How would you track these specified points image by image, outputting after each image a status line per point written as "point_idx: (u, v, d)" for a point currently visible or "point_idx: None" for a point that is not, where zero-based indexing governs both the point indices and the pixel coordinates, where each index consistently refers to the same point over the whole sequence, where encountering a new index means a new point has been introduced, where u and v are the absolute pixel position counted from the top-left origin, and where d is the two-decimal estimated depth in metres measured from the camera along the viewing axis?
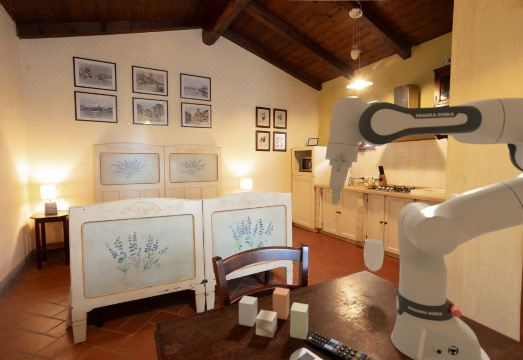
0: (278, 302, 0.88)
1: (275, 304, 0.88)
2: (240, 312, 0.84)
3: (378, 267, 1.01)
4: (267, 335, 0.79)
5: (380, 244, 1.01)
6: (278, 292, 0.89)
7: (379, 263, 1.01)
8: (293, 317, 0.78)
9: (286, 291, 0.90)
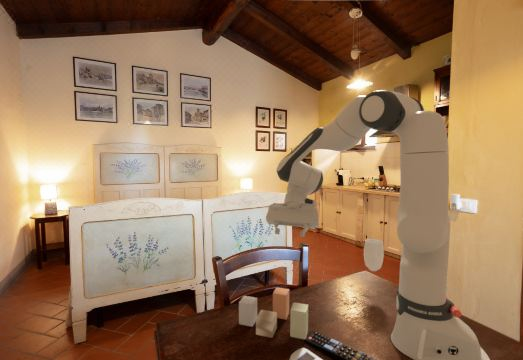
0: (278, 302, 0.88)
1: (275, 304, 0.88)
2: (240, 312, 0.84)
3: (378, 267, 1.01)
4: (267, 335, 0.79)
5: (380, 244, 1.01)
6: (278, 292, 0.89)
7: (379, 263, 1.01)
8: (293, 317, 0.78)
9: (286, 291, 0.90)
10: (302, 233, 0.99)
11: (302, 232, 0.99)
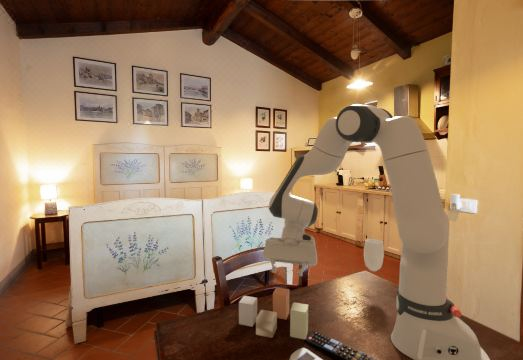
0: (278, 302, 0.88)
1: (275, 304, 0.88)
2: (240, 312, 0.84)
3: (378, 267, 1.01)
4: (267, 335, 0.79)
5: (380, 244, 1.01)
6: (278, 292, 0.89)
7: (379, 263, 1.01)
8: (293, 317, 0.78)
9: (286, 291, 0.89)
10: (300, 273, 0.95)
11: (300, 272, 0.95)
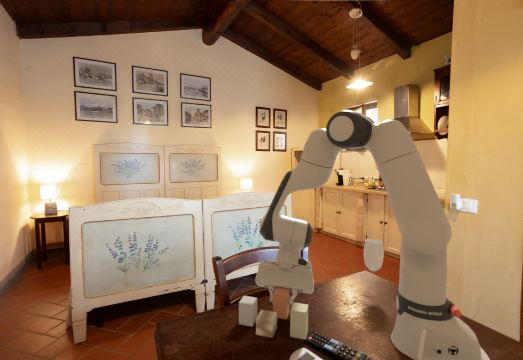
0: (278, 302, 0.88)
1: (275, 304, 0.88)
2: (240, 312, 0.84)
3: (378, 267, 1.01)
4: (267, 335, 0.79)
5: (380, 244, 1.01)
6: (278, 292, 0.89)
7: (379, 263, 1.01)
8: (293, 317, 0.78)
9: (286, 291, 0.89)
10: (289, 301, 0.88)
11: (290, 300, 0.88)
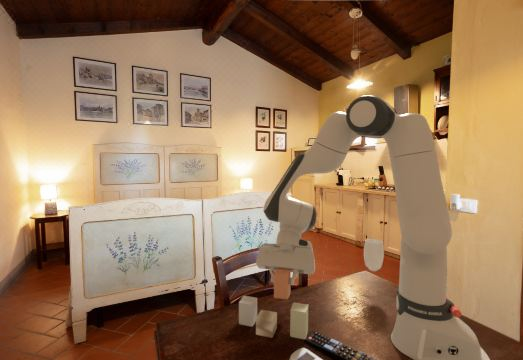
0: (279, 282, 0.87)
1: (276, 284, 0.88)
2: (240, 312, 0.84)
3: (378, 267, 1.01)
4: (267, 335, 0.79)
5: (380, 244, 1.01)
6: (279, 272, 0.88)
7: (379, 263, 1.01)
8: (293, 317, 0.78)
9: (287, 271, 0.89)
10: (291, 281, 0.87)
11: (291, 280, 0.88)
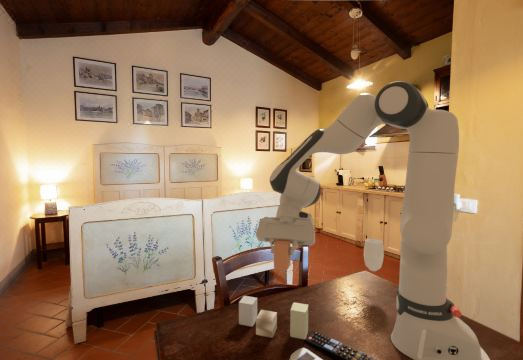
0: (279, 252, 0.87)
1: (276, 255, 0.88)
2: (240, 312, 0.84)
3: (378, 267, 1.01)
4: (267, 335, 0.79)
5: (380, 244, 1.01)
6: (279, 243, 0.88)
7: (379, 263, 1.01)
8: (293, 317, 0.78)
9: (287, 242, 0.89)
10: (291, 251, 0.87)
11: (291, 250, 0.88)
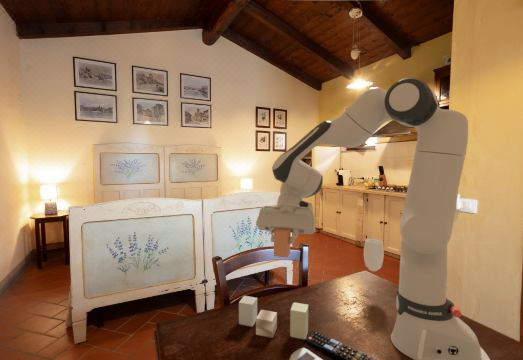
0: (280, 240, 0.88)
1: (276, 243, 0.88)
2: (240, 312, 0.84)
3: (378, 267, 1.01)
4: (267, 335, 0.79)
5: (380, 244, 1.01)
6: (279, 231, 0.88)
7: (379, 263, 1.01)
8: (293, 317, 0.78)
9: (287, 230, 0.89)
10: (291, 240, 0.88)
11: (291, 239, 0.88)
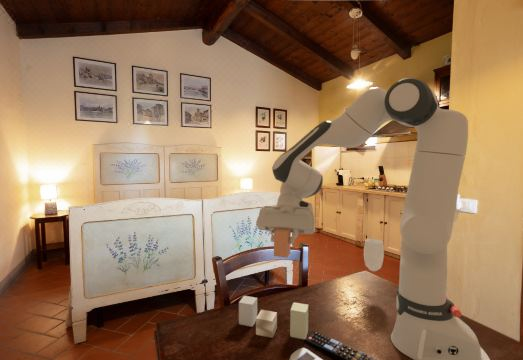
0: (280, 240, 0.88)
1: (276, 243, 0.88)
2: (240, 312, 0.84)
3: (378, 267, 1.01)
4: (267, 335, 0.79)
5: (380, 244, 1.01)
6: (279, 231, 0.88)
7: (379, 263, 1.01)
8: (293, 317, 0.78)
9: (287, 230, 0.89)
10: (291, 240, 0.88)
11: (291, 239, 0.88)
